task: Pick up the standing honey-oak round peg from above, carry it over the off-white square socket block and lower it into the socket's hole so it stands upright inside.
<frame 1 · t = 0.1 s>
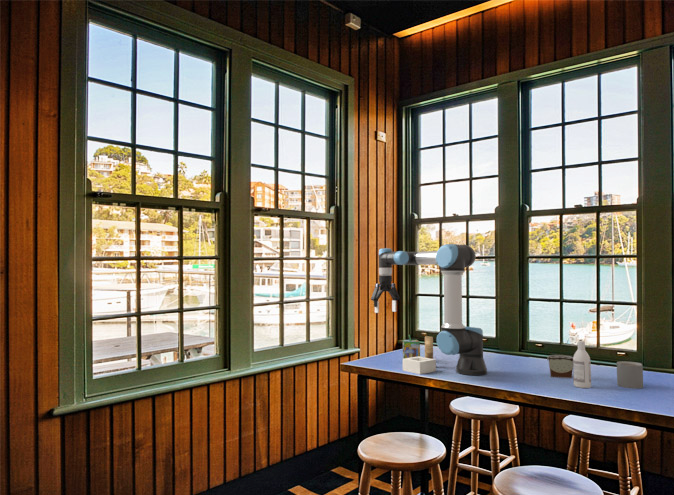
hand: (385, 312, 277), 28 cm above the table, tool pointing down, fingers open, 13 cm apart
juice carton: (411, 361, 278), on the table
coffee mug: (631, 385, 217), on the table
food container: (560, 376, 236), on the table
bath foam: (582, 387, 214), on the table
oak peg: (429, 366, 260), on the table
socket block: (419, 370, 249), on the table
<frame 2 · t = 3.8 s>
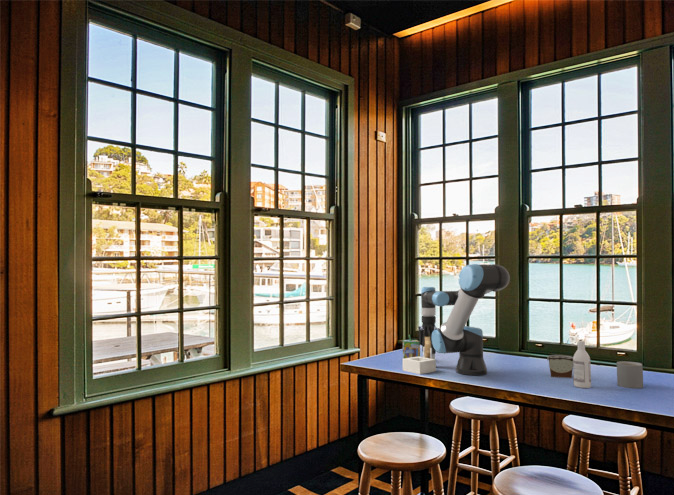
hand: (429, 359, 260), 4 cm above the table, tool pointing down, fingers closed on oak peg, 4 cm apart
oak peg: (429, 366, 260), on the table, touching gripper
everything else where it was.
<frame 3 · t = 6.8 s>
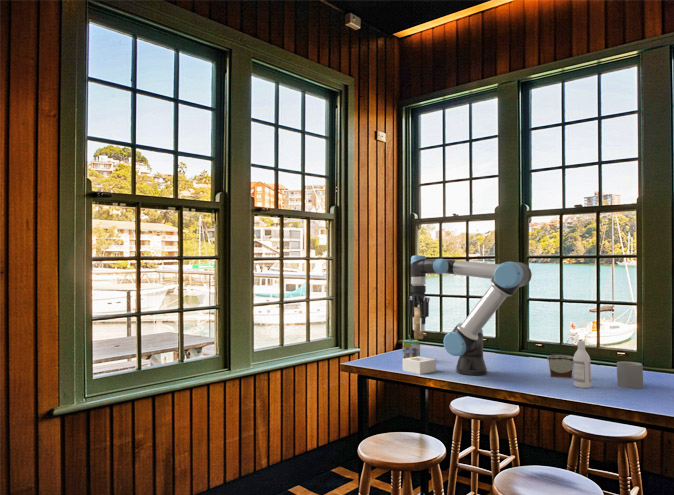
hand: (418, 330, 250), 21 cm above the table, tool pointing down, fingers closed on oak peg, 4 cm apart
oak peg: (418, 338, 250), point 17 cm above the table, touching gripper
everything else where it was.
when the fingers open (8 cm above the table, at t = 9.7 s): oak peg drops 3 cm, on the table.
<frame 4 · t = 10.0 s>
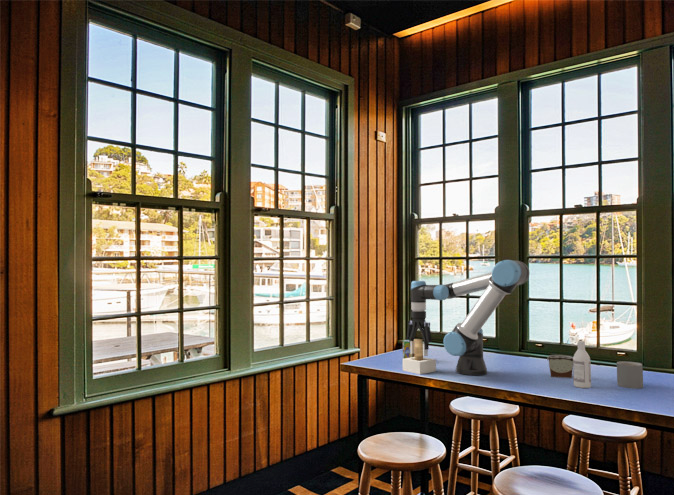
hand: (419, 354, 250), 8 cm above the table, tool pointing down, fingers open, 8 cm apart
oak peg: (419, 370, 249), on the table
everything else where it was.
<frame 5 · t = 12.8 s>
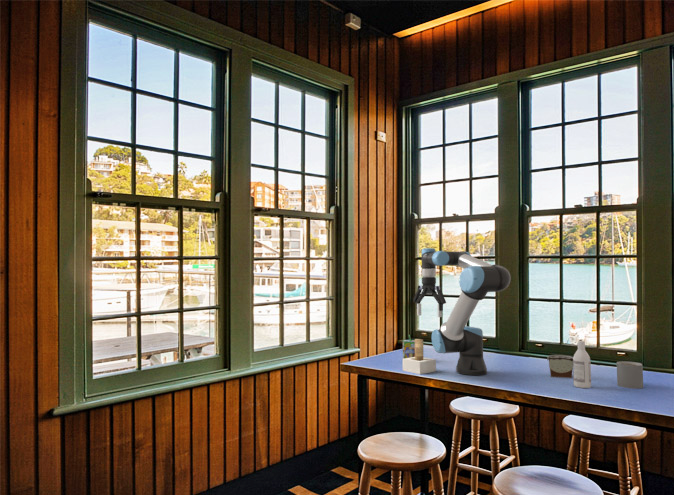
hand: (429, 316, 260), 27 cm above the table, tool pointing down, fingers open, 13 cm apart
nothing on the table moved.
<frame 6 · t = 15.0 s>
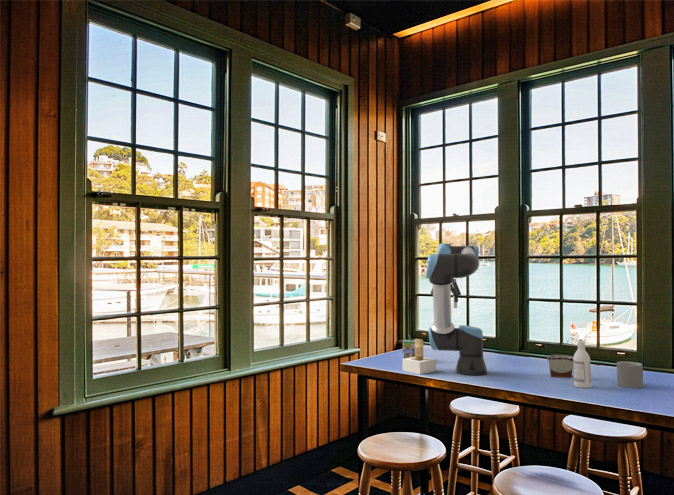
hand: (445, 307, 277), 31 cm above the table, tool pointing down, fingers open, 13 cm apart
nothing on the table moved.
at the end: oak peg 0.0 cm off-centre on the socket block, point 0.0 cm above the socket block's base; oak peg tilted 0°; the gripper is holding nothing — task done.
